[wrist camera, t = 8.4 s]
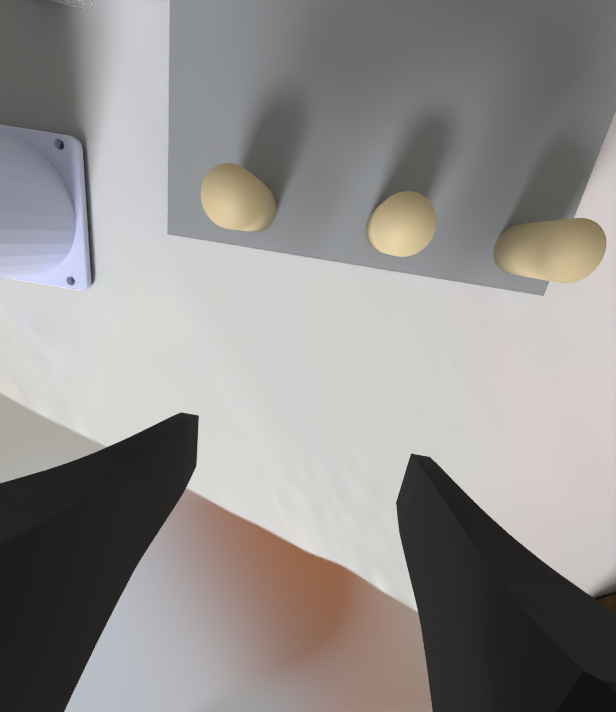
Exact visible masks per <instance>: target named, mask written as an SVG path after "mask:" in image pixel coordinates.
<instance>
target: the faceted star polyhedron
mask: <svg viewBox="0 0 616 712" xmlns="http://www.w3.org/2000/svg"><path fill="white" fill-rule="evenodd" d="M49 1H53V2H56V3H60V4H64V5H68V6H71V7H75V8H79V9H83V10H86V11H89V10H90V8H91V6H92V4H93V2H94V0H49Z"/></svg>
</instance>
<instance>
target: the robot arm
mask: <svg viewBox="0 0 616 712" xmlns="http://www.w3.org/2000/svg"><path fill="white" fill-rule="evenodd" d="M62 141H63V143H64V148H63V149H61V147H60V143H61V142H62ZM72 277H73V278H74V280H75V284H74V283H73V282H72V280H71V278H72ZM1 278H9V279H15V280H21V281H27V282H32V283H38V284H44V285H50V286H56V287H62V288H68V289H74V290H79V291H83V290H87V289H89V288H90V287H91V271H90V255H89V240H88V225H87V209H86V194H85V178H84V163H83V149H82V145H81V143H80V141H79V140H78V139H77V138H75V137H72V136H69V135H65V134H58V133H52V132H46V131H39V130H33V129H27V128H20V127H14V126H7V125H1V124H0V279H1ZM198 420H199V416H198V415H192V414H187V413H179V414H176V415H174V416H172V417H170V418H168V419H166V420H164V421H162V422H160V423H158V424H156V425H154V426H152V427H150V428H148V429H146V430H144V431H142V432H140V433H137V434H135V435H133V436H131V437H129V438H127V439H125V440H123V441H120V442H118V443H116V444H113V445H111V446H109V447H107V448H105V449H102V450H100V451H98V452H96V453H93V454H90V455H88V456H85V457H83V458H80V459H77V460H74V461H72V462H69V463H66V464H63V465H60V466H58V467H54V468H51V469H48V470H46V471H42V472H38V473H35V474H32V475H28V476H25V477H21V478H18V479H15V480H11V481H7V482H4V483H0V712H64V711H65V709H66V706H67V704H68V702H69V700H70V698H71V695H72V693H73V691H74V689H75V687H76V685H77V683H78V681H79V679H80V677H81V675H82V673H83V670H84V668H85V666H86V664H87V662H88V660H89V658H90V656H91V654H92V652H93V650H94V648H95V645H96V643H97V641H98V640H99V637H100V636H101V634H102V632H103V630H104V628H105V626H106V623H107V622H108V620H109V617H110V616H111V614H112V612H113V610H114V608H115V606H116V604H117V602H118V600H119V598H120V596H121V594H122V592H123V591H124V589H125V587H126V585H127V583H128V581H129V579H130V577H131V575H132V573H133V571H134V570H135V568H136V566H137V565H138V563H139V561H140V560H141V558H142V556H143V555H144V553H145V552H146V550H147V548H148V547H149V545H150V544H151V542H152V541H153V539H154V538H155V536H156V535H157V533H158V532H159V530H160V528H161V527H162V525H163V524H164V522H165V521H166V519H167V518H168V516H169V514H170V513H171V511H172V510H173V508H174V507H175V505H176V504H177V502H178V500H179V499H180V497H181V496H182V494H183V492H184V491H185V489H186V487H187V484H188V482H189V480H190V478H191V476H192V474H193V472H194V470H195V468H196V461H197V440H198ZM396 505H397V515H398V524H399V532H400V537H401V541H402V546H403V550H404V554H405V558H406V563H407V567H408V571H409V575H410V579H411V583H412V587H413V591H414V596H415V600H416V604H417V608H418V613H419V618H420V623H421V629H422V636H423V642H424V649H425V655H426V662H427V670H428V677H429V685H430V693H431V700H432V709H433V712H616V612H614V611H612V610H611V609H609V608H608V607H606V606H605V605H603V604H602V603H600V602H599V601H597V600H596V599H594V598H593V597H591V596H590V595H588V594H587V593H585V592H584V591H583V590H581V589H580V588H578V587H577V586H576V585H574V584H573V583H571V582H570V581H569V580H567V579H566V578H564V577H563V576H562V575H560V574H559V573H557V572H556V571H555V570H553V569H552V568H551V567H549V566H548V565H547V564H545V563H544V562H543V561H541V560H540V559H539V558H538V557H536V556H535V555H534V554H533V553H531V552H530V551H529V550H528V549H526V548H525V547H524V546H523V545H522V544H520V543H519V542H518V541H517V540H515V539H514V538H513V537H512V536H511V535H510V534H508V533H507V532H506V531H505V530H504V529H503V528H502V527H501V526H499V525H498V524H497V523H496V522H495V521H494V520H493V519H492V518H491V517H490V516H488V515H487V514H486V513H485V512H484V511H483V510H482V509H481V508H480V507H479V506H478V505H477V504H476V503H475V502H474V501H473V500H472V499H471V498H470V497H469V496H468V495H467V494H466V493H465V492H464V491H463V490H462V489H461V488H460V487H459V486H458V485H457V484H456V483H455V482H454V481H453V480H452V479H451V478H450V477H449V476H448V475H447V474H446V473H445V472H444V471H443V469H442V468H441V467H440V466H439V465H438V464H437V463H436V462H434V461H433V460H432V459H431V458H430V457H427V456H421V455H416V454H411V456H410V459H409V462H408V466H407V469H406V472H405V476H404V479H403V482H402V485H401V489H400V492H399V495H398V499H397V502H396Z"/></svg>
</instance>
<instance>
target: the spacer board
mask: <svg viewBox="0 0 616 712" xmlns="http://www.w3.org/2000/svg"><path fill="white" fill-rule="evenodd" d="M615 111H616V0H170V55H169V152H168V234H170V235H176V236H182V237H188V238H194V239H200V240H206V241H213V242H219V243H225V244H231V245H237V246H243V247H249V248H255V249H261V250H267V251H274V252H280V253H286V254H292V255H298V256H304V257H310V258H316V259H322V260H328V261H335V262H341V263H347V264H353V265H359V266H365V267H371V268H377V269H383V270H390V271H396V272H402V273H408V274H414V275H420V276H426V277H432V278H438V279H444V280H451V281H457V282H463V283H469V284H475V285H481V286H487V287H493V288H499V289H505V290H512V291H518V292H524V293H530V294H536V295H542V296H544V293H545V291H546V288H547V285H548V283H549V281H552V282H558V283H572V282H575V281H578V280H581V279H583V278H585V277H586V276H588V275H589V274H590V273H591V272H593V271H594V270H595V269H596V267H597V266H598V265H599V263H600V262H601V260H602V258H603V256H604V253H605V250H606V237H605V234H604V231H603V230H602V228H601V227H600V226H599V225H598V224H597V223H596V222H594V221H592V220H589V219H585V218H575V219H574V216H575V213H576V211H577V208H578V206H579V203H580V201H581V198H582V196H583V193H584V190H585V188H586V185H587V183H588V180H589V178H590V175H591V172H592V170H593V167H594V165H595V162H596V160H597V157H598V154H599V152H600V149H601V147H602V144H603V142H604V139H605V136H606V134H607V131H608V129H609V126H610V124H611V121H612V118H613V116H614V113H615Z"/></svg>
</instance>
